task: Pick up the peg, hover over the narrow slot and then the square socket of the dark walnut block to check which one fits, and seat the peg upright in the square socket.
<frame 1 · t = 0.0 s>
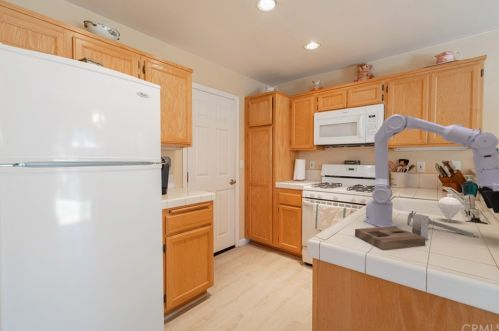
hand: (495, 210, 71), 11 cm above the countertop, tool pointing down, fingers open, 7 cm apart
caliper: (440, 231, 84), on the countertop
socket block: (388, 240, 73), on the countertop
peg: (419, 238, 75), on the countertop
spinning top: (448, 222, 95), on the countertop
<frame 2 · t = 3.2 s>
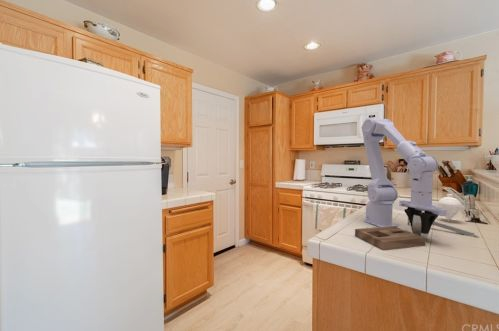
hand: (420, 231, 75), 2 cm above the countertop, tool pointing down, fingers closed on peg, 3 cm apart
peg: (419, 238, 75), on the countertop, touching gripper
everything else where it was.
when the fingers open (4 cm above the countertop, at t = 10.0 s): peg drops 1 cm, resting in socket block.
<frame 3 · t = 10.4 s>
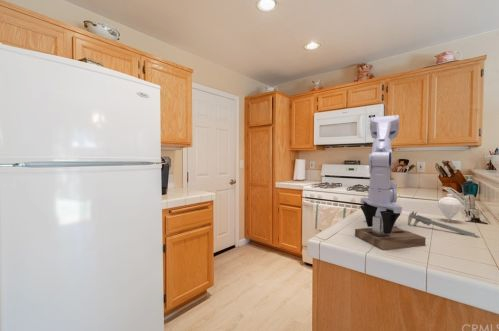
hand: (378, 229, 72), 4 cm above the countertop, tool pointing down, fingers open, 6 cm apart
peg: (379, 241, 72), resting in socket block
everything else where it was.
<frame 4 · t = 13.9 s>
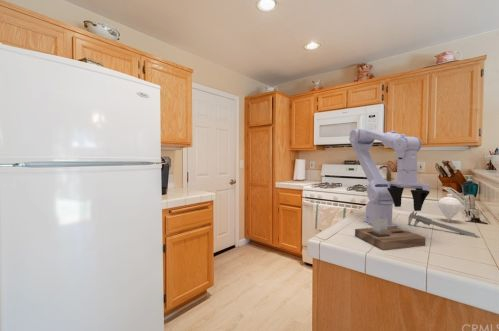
hand: (407, 208, 78), 9 cm above the countertop, tool pointing down, fingers open, 7 cm apart
nothing on the countertop moved.
at the end: peg 0.4 cm from the target spot on the socket block, point 0.0 cm above the socket block's base; peg tilted 0°; the gripper is holding nothing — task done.
